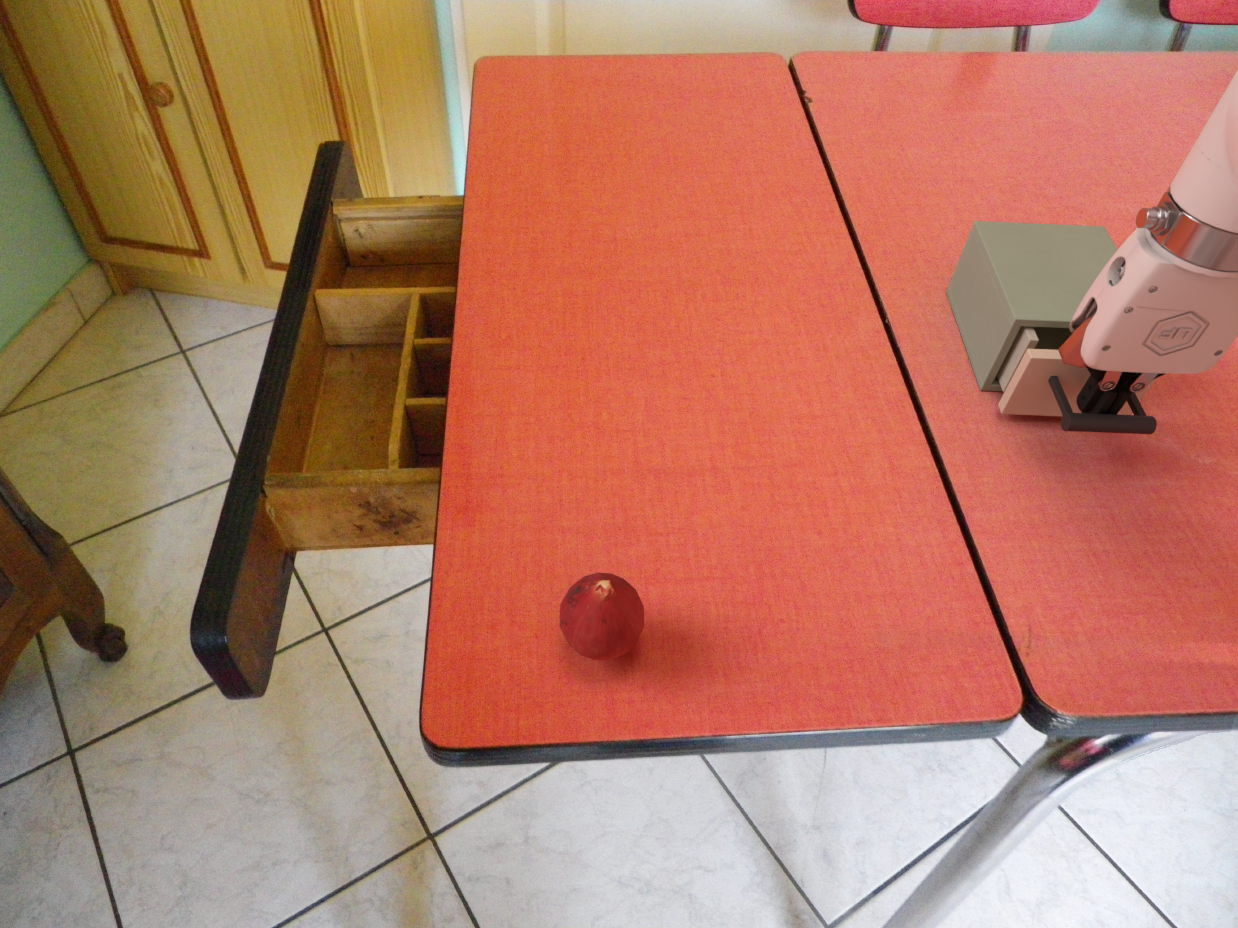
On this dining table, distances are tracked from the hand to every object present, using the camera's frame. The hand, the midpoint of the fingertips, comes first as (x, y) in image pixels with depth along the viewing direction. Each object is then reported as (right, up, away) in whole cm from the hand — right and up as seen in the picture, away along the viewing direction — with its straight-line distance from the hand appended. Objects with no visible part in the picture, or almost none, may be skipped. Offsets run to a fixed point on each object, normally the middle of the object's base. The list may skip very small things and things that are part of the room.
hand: (1091, 413), depth 72 cm
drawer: (0, +3, +7) cm, 7 cm away
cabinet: (0, +8, +12) cm, 15 cm away
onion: (-41, -17, -10) cm, 46 cm away
